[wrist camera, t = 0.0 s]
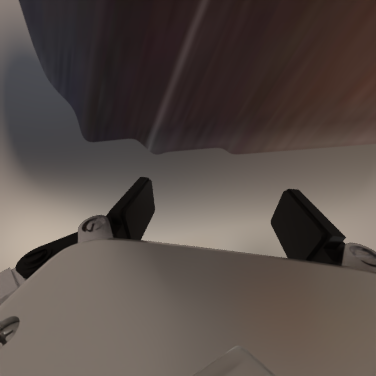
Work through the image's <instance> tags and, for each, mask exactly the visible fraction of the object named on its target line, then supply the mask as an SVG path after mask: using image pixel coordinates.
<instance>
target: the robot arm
mask: <svg viewBox="0 0 376 376" xmlns="http://www.w3.org/2000/svg"><path fill="white" fill-rule="evenodd" d="M154 211H155V205H154V197H153V189H152V181H151V180H149V178H146V177H140V178H139V179H138V180H137V181H136V182H135V183H134V185H133V186H132V187H131V188H130V189H129V190H128V191H127V192H126V194H125V195H124V196H123V197H122V198H121V199H120V200H119V201H118V202H117V203H116V205H115V206H114V207H113V208H112V209H111V210H110V211H109V213H108V214H107V215H106V216H104V215H97V216H93V217H90V218H88V219H86V220H85V221H83V222H82V223H81V224H80V226H79V228H78V232H76V233H74V234H71V235H68V236H66V237H64V238H61V239H58V240H56V241H53V242H51V243H48V244H45V245H43V246H40V247H38V248H36V249H33V250H32V251H30V252H28V253H27V254H26V255H24V256H23V257H22V258H21V259H20V260H19V261H18V263H17V265H16V267H15V268H14V269H10V268H8V269H6V270H4V271H2V272H1V273H0V376H376V252H375V251H374V250H372V249H370V248H368V247H366V246H363V245H361V244H357V243H348V244H345V243H344V242H343V240H344V239H345V238H346V237H345V236H344V235H343V234H342V233H341V232H340V231H339V230H338V229H337V228H336V227H335V226H334V225H333V224H332V223H331V222H330V221H329V220H328V219H327V218H326V217H325V216H324V215H323V214H322V213H321V212H320V211H319V210H318V209H317V208H316V207H315V206H314V205H313V204H312V203H311V202H310V201H309V200H308V199H307V198H306V197H305V196H304V195H303V194H302V193H301V192H300V191H299V190H295V189H288V190H286V191H284V192H283V194H282V196H281V199H280V201H279V204H278V205H277V208H276V210H275V212H274V214H273V217H272V219H271V225H272V227H273V229H274V231H275V233H276V235H277V237H278V239H279V241H280V243H281V245H282V247H283V249H284V251H285V253H286V255H287V258H282V257H274V256H266V255H259V254H251V253H243V252H235V251H227V250H219V249H211V248H203V247H195V246H186V245H177V244H169V243H161V242H152V241H143V240H141V238H142V236H143V234H144V232H145V230H146V228H147V226H148V224H149V222H150V220H151V218H152V216H153V214H154Z"/></svg>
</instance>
